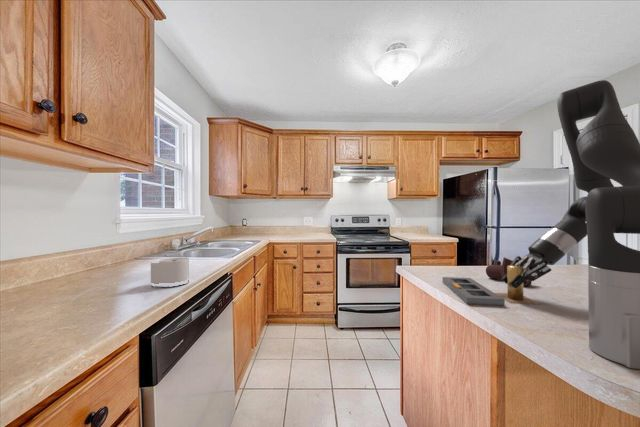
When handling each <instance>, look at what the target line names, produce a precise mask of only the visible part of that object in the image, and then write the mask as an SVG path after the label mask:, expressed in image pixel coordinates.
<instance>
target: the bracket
mask: <svg viewBox="0 0 640 427" xmlns="http://www.w3.org/2000/svg"><path fill="white" fill-rule="evenodd" d="M512 262H513V259H510V258H507V257H503V259H502V263H501V261H500V260H495V261H494V264H490V265H487V266H486V268H485V273H486V276H487V277H488V278H490V279H499V280H502V278H503V277H504V276H505V275H506V274H507V266H508V265H510V264H511V263H512ZM526 273H527V272H526ZM532 282H533V281H531V280H529V281H525V282H523V287H531V286H532Z"/></svg>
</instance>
